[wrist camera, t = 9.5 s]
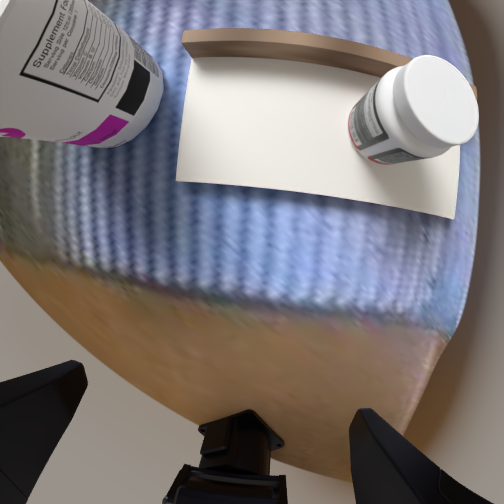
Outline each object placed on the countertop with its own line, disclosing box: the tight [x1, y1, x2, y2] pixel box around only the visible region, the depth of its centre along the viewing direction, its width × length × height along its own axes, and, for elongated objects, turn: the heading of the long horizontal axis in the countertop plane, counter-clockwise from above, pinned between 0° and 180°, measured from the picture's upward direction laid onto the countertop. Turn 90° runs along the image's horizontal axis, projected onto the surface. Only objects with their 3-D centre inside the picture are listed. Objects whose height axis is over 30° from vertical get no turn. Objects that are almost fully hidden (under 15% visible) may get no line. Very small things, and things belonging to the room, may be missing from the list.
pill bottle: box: [348, 55, 479, 165], centre depth 12 cm, size 5×5×8 cm
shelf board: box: [176, 28, 477, 219], centre depth 15 cm, size 20×10×4 cm, turn 85°
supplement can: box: [0, 0, 164, 148], centre depth 10 cm, size 8×8×15 cm
